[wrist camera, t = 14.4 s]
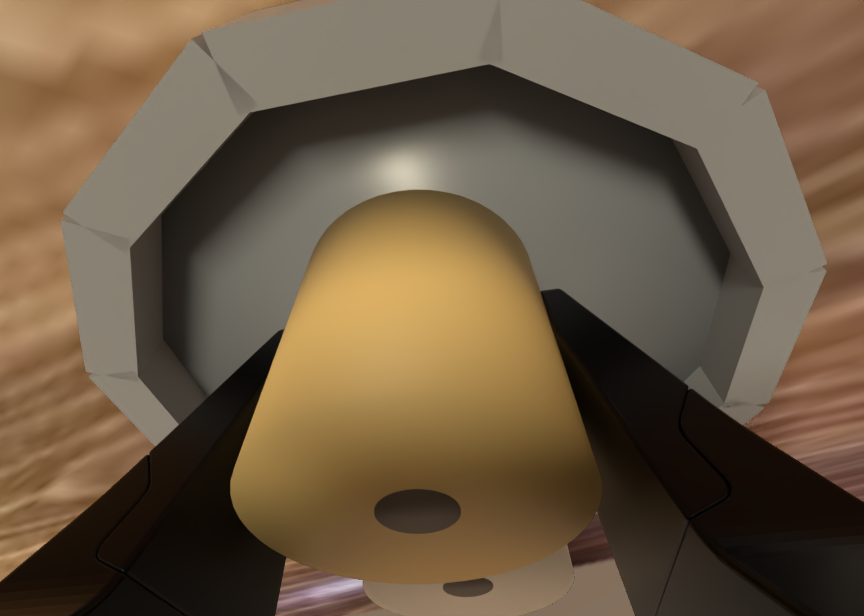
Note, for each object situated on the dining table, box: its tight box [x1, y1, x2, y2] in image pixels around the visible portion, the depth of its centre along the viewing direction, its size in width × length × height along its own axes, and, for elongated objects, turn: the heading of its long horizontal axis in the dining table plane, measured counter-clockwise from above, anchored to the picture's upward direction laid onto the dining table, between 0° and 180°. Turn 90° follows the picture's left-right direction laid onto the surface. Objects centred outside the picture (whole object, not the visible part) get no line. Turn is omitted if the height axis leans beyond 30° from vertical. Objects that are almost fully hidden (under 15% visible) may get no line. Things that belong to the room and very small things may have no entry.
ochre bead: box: [230, 190, 602, 584], centre depth 8 cm, size 5×5×5 cm
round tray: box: [61, 0, 827, 514], centre depth 13 cm, size 17×17×3 cm
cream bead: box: [363, 545, 574, 616], centre depth 13 cm, size 5×5×5 cm
